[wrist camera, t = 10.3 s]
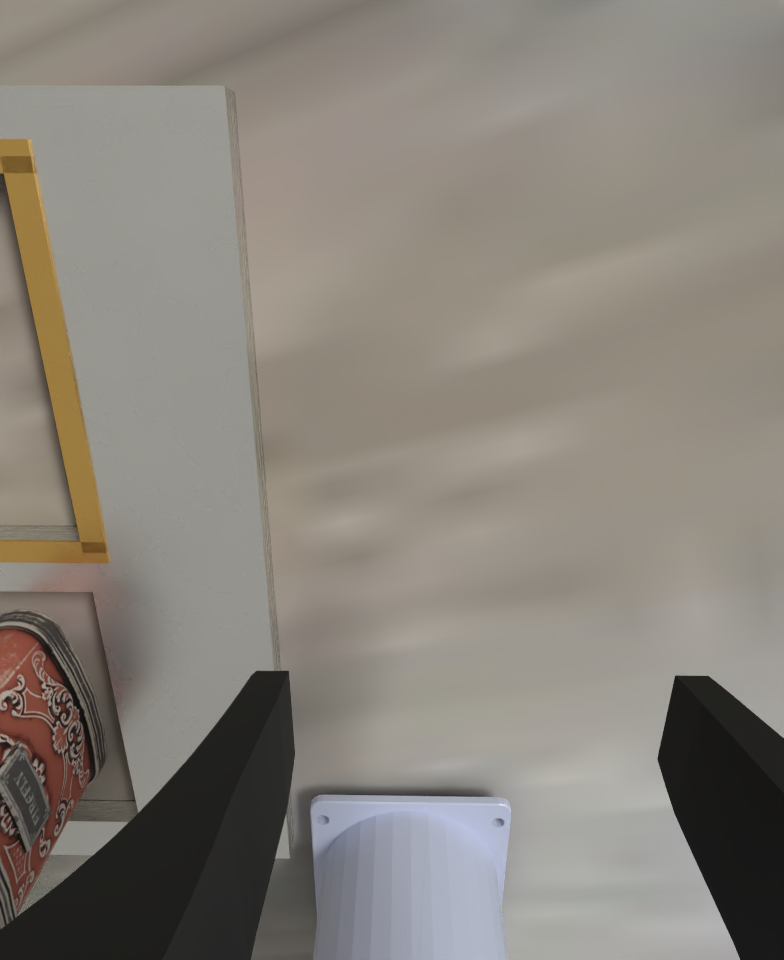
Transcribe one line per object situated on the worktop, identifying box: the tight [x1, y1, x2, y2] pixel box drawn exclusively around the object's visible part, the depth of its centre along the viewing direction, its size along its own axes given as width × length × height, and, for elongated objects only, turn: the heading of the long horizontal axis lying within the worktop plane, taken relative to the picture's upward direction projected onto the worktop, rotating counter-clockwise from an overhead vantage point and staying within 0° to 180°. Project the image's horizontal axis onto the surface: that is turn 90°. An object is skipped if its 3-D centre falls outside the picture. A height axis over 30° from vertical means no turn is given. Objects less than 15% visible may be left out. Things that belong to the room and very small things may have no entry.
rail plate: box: [0, 86, 294, 859], centre depth 23 cm, size 28×18×1 cm, turn 0°
